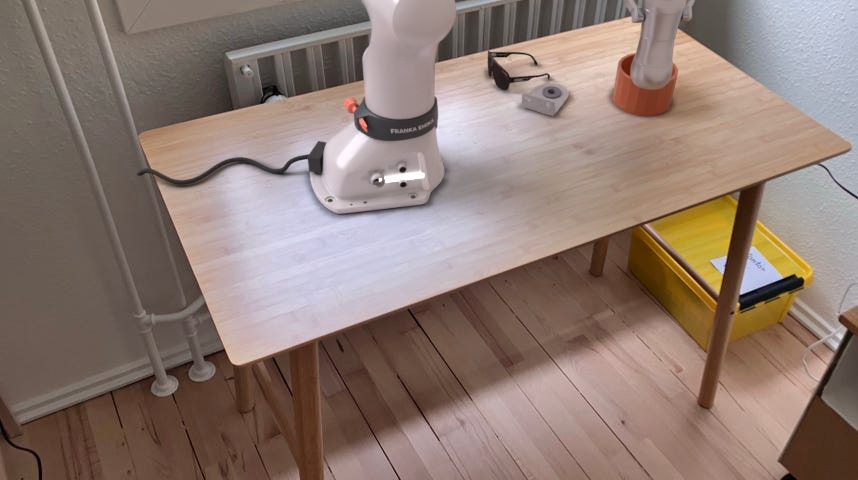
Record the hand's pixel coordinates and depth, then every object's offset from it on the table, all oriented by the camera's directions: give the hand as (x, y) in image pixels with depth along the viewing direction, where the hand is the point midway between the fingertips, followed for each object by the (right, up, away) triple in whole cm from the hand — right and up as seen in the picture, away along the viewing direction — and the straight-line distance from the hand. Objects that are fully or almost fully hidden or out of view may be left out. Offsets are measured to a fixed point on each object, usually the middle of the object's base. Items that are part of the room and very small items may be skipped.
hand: (662, 20), depth 128 cm
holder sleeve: (+3, -5, +34) cm, 34 cm away
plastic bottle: (0, -8, +8) cm, 12 cm away
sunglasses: (-21, 0, +38) cm, 43 cm away
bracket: (-16, -6, +32) cm, 36 cm away
